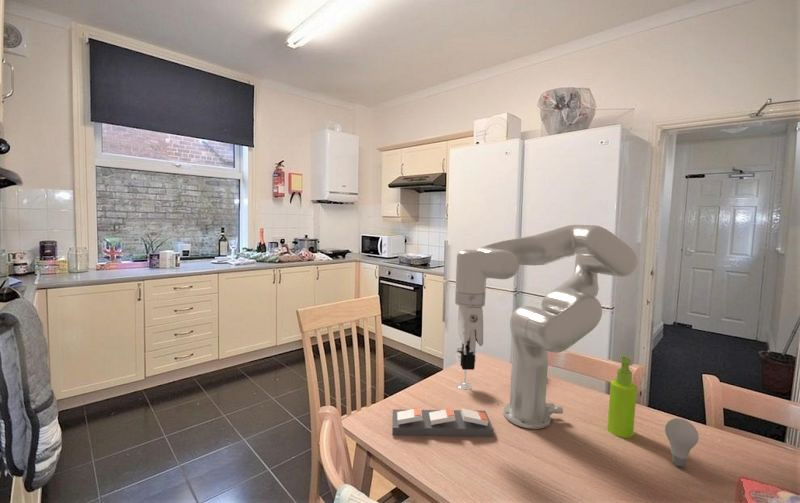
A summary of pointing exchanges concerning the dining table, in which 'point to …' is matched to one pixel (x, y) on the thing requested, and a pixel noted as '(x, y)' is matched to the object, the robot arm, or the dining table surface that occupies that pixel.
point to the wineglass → (458, 359)
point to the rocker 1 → (409, 416)
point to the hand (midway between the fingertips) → (467, 367)
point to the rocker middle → (442, 416)
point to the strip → (441, 426)
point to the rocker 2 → (474, 417)
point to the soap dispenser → (622, 402)
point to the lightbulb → (681, 439)
